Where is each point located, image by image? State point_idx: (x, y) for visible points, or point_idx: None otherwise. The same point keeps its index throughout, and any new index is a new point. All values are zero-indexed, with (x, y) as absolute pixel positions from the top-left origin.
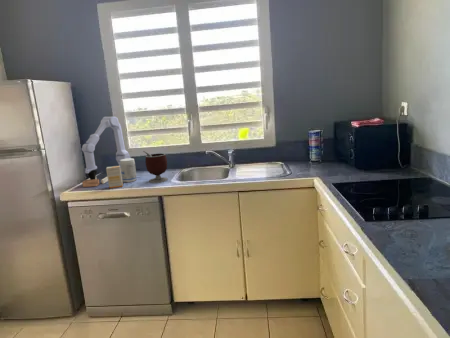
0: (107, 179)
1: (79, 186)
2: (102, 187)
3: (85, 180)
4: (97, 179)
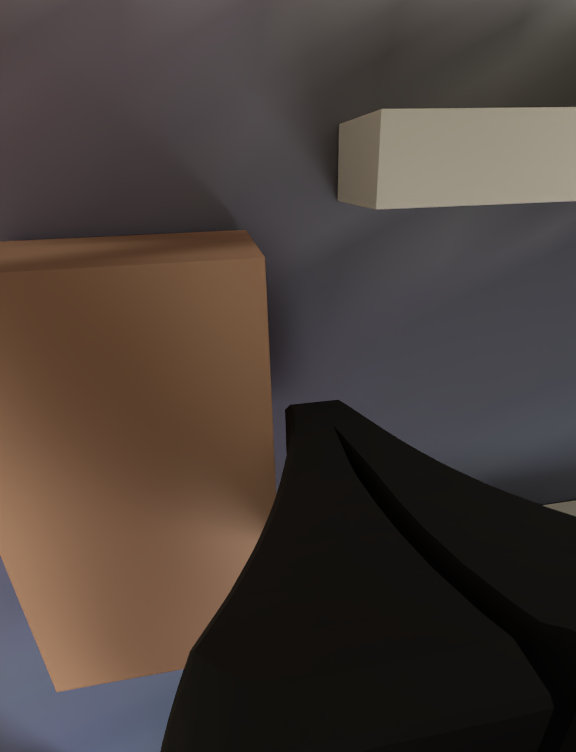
0: None
1: (112, 14)
2: (16, 692)
3: (142, 318)
4: None
